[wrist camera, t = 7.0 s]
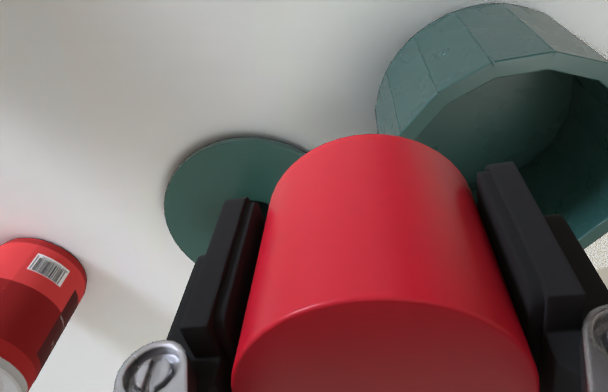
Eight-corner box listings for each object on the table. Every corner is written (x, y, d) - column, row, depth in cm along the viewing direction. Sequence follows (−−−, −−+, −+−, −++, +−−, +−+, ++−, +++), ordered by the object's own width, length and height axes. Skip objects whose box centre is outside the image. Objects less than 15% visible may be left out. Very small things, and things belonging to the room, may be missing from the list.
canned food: (-18, 230, 39) (-122, 342, 30) (79, 238, 39) (3, 353, 30) (11, 295, 44) (-74, 409, 35) (97, 302, 43) (36, 418, 35)
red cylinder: (244, 151, 11) (187, 314, 7) (472, 115, 10) (553, 281, 6) (293, 301, 14) (271, 479, 10) (475, 284, 13) (532, 473, 9)
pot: (318, 34, 28) (312, 92, 22) (650, -28, 26) (767, 15, 19) (349, 203, 35) (352, 287, 29) (612, 169, 33) (686, 254, 26)
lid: (140, 148, 34) (99, 210, 28) (331, 118, 32) (329, 178, 26) (201, 284, 41) (179, 354, 35) (358, 267, 39) (362, 339, 33)
